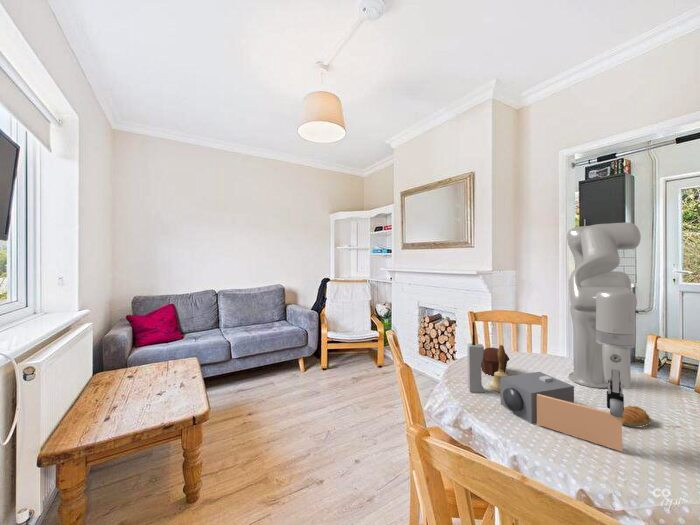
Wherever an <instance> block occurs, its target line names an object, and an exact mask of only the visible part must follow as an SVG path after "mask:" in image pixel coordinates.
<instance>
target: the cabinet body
mask: <svg viewBox="0 0 700 525" xmlns="http://www.w3.org/2000/svg"><path fill="white" fill-rule="evenodd" d="M500 379H501V392H500V405H501V406H503V407H504V408H505V409H508V410H509V411H511V412H512V413H513V414H516V415H517V416H519V417H520V418H522V419H523V420H524V421H526V422H528V423H530V424H531V425H533V424H537V394H541V395H544V396H548V397H552V398H556V399H560V400H564V401H568V402H571V403H575V386H574V385H573V384H570V383H568V382H565V381H562V380H560V379H557V378H556V377H553V376H551V375H548V374H546V373H544V372H541V371H534V372H527V373H520V374H514V375H508V376H506V377H500Z"/></svg>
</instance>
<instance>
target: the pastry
mask: <svg viewBox="0 0 700 525" xmlns="http://www.w3.org/2000/svg"><path fill="white" fill-rule="evenodd" d="M649 423H650V424H651V423H652V419H651V417H650V415H649V414H648V413H647V411H646V410H645V409H644V408H641V407H639V406H636V405H634V406H632V405H628V406H624V411H623V417H622V426H625V427H628V426H630V427H629V428H633V427H632V426H642V427H644V426H643V425H646V424H648V425H650V424H649ZM646 426H647V425H646Z"/></svg>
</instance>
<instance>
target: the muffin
mask: <svg viewBox="0 0 700 525" xmlns="http://www.w3.org/2000/svg"><path fill="white" fill-rule="evenodd" d="M498 349H499V348H496V347H486V348H484V352H483V361H482V363H481V372H482V371H483V372H484V374H485V375H486V374H488V375H487V376H490V375H491V376H490V377H494V373H495V372H497V371H498V369H499V360H498V355H497V352H498ZM509 361H510V358H509V356H508V354H507V353H506V352H505V359H504V373H506V372H507V365H508V362H509ZM483 372H482V373H483Z"/></svg>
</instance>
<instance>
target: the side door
mask: <svg viewBox="0 0 700 525" xmlns="http://www.w3.org/2000/svg"><path fill="white" fill-rule="evenodd" d="M622 417H623V402H622V401H620V400H618V399H610V409H609V411H606V410H603V409H598V408H596V407H595V408H593V407H590V406H586V405H584V404H583V405H582V404H578V403H575V402H574V403H571V402H568V401H564V400H560V399H556V398H552V397H548V396H544V395H541V394H537V423H536V425H538V426H542V427H544V428H548V429H550V430H554V431H557V432H561V433H563V434H566V435H569V436H573V437H576V438H580V439H582V440H585V441H589V442H591V443H594V444H597V445H601V446H604V447H606V448H609V449H614V450H616V451H619V452H623V424H622Z"/></svg>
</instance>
